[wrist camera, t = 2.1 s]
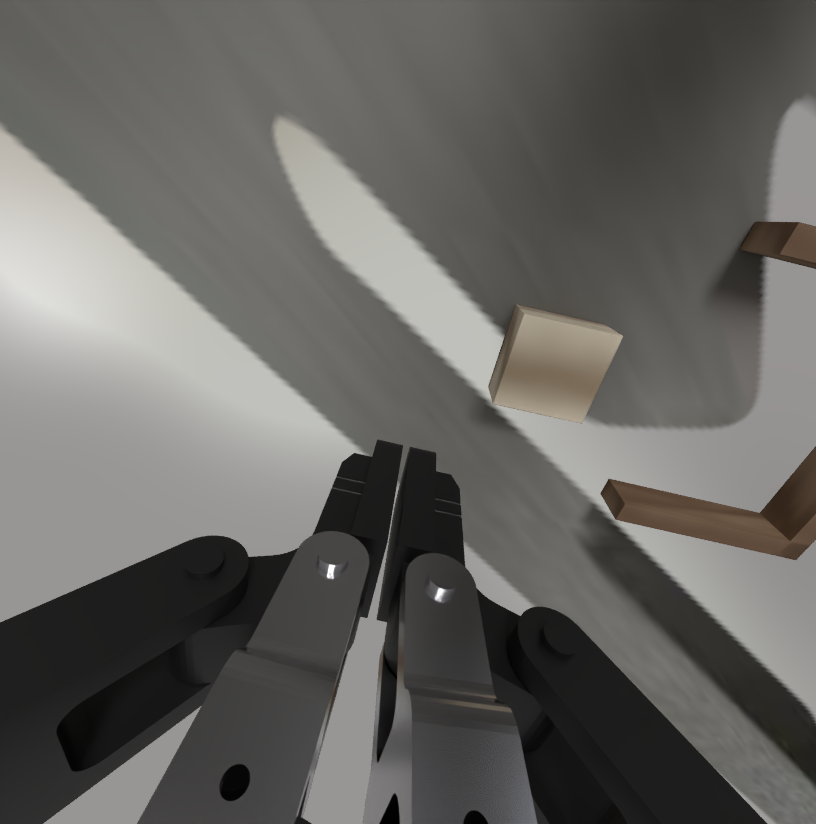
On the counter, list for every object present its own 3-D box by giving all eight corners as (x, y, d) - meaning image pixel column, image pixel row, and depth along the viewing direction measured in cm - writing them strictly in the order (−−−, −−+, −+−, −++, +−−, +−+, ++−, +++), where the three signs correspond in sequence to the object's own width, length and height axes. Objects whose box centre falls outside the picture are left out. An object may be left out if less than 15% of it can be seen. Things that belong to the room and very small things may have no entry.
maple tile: (515, 303, 25) (524, 313, 23) (604, 323, 25) (623, 336, 23) (488, 386, 28) (493, 404, 25) (568, 404, 28) (581, 423, 25)
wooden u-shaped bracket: (755, 221, 22) (799, 222, 19) (984, 279, 22) (1058, 288, 20) (600, 493, 31) (615, 519, 28) (765, 531, 31) (796, 560, 29)
